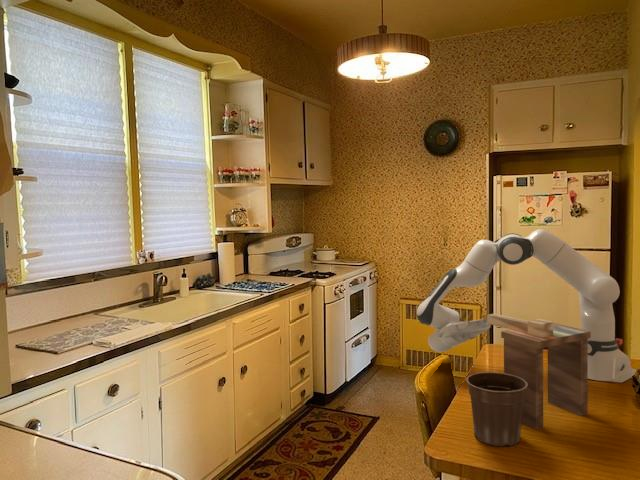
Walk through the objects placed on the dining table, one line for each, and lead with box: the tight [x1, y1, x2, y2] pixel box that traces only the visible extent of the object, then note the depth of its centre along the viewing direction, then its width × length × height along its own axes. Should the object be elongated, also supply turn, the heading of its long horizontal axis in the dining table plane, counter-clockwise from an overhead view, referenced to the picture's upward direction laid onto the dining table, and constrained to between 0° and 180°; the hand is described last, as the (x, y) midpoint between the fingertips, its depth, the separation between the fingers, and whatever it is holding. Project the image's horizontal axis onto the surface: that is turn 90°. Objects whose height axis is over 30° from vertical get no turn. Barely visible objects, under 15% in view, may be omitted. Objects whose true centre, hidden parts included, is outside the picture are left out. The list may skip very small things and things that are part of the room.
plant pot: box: [465, 371, 528, 447], centre depth 137 cm, size 16×16×16 cm
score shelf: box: [500, 322, 591, 430], centre depth 151 cm, size 22×14×26 cm, turn 115°
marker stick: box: [486, 313, 554, 338], centre depth 153 cm, size 5×21×4 cm, turn 30°
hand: (478, 321), depth 180 cm, fingers open, 8 cm apart
